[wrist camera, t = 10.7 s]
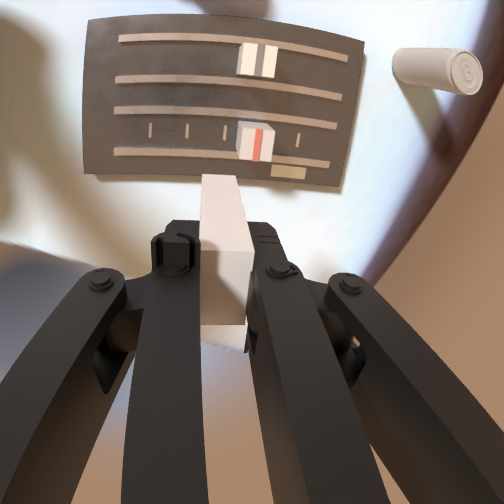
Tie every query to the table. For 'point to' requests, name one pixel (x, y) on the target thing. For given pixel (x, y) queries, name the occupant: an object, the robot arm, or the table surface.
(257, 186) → the table surface
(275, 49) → the fader
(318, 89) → the console
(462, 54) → the beverage can
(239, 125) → the fader
